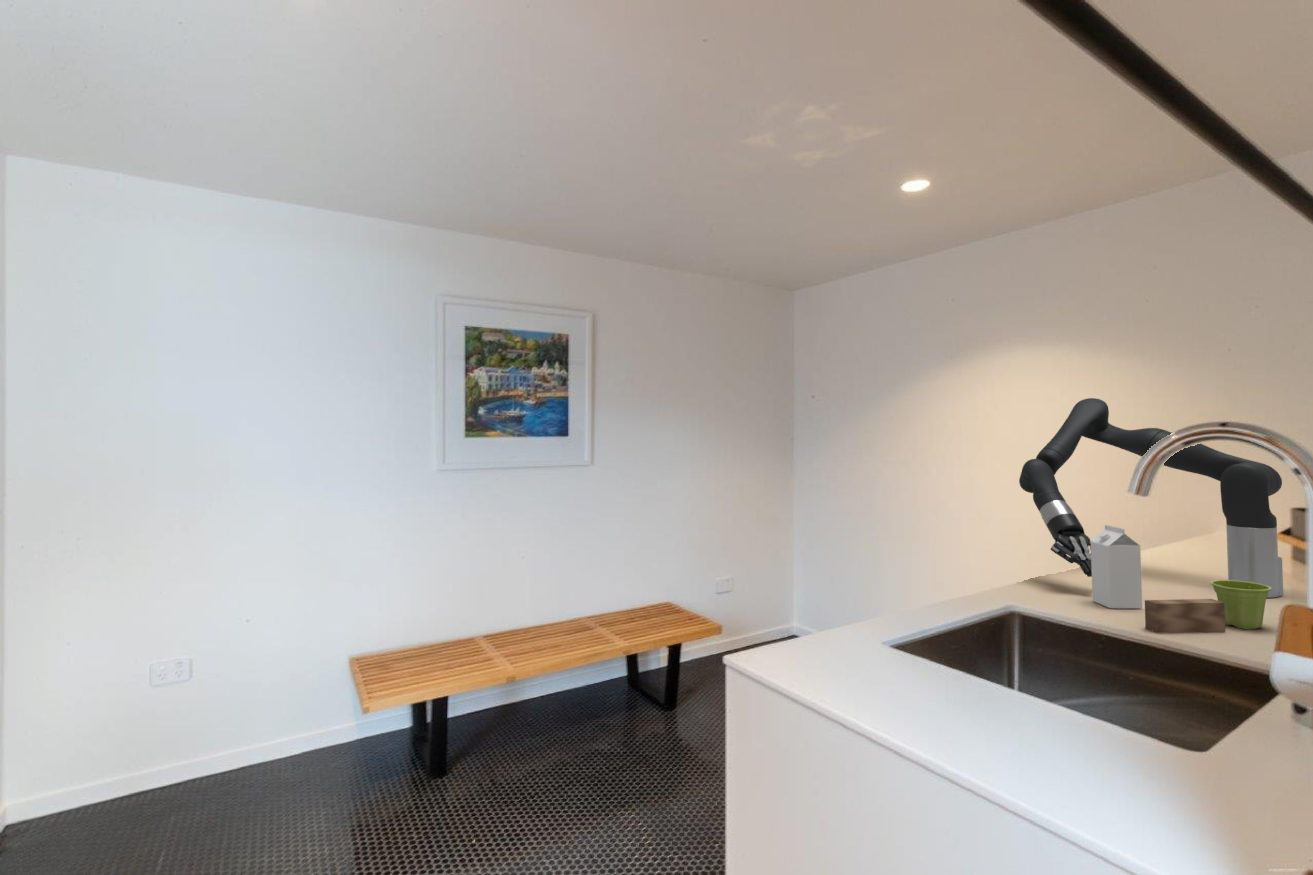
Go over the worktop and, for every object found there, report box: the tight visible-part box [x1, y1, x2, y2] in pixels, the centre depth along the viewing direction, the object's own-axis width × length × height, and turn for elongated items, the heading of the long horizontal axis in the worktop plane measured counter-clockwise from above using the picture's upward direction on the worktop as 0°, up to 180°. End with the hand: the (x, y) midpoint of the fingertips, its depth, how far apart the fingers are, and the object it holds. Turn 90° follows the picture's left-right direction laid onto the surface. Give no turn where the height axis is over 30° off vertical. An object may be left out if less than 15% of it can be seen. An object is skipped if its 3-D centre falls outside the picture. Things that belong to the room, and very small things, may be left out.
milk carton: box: [1090, 524, 1143, 609], centre depth 148 cm, size 7×7×19 cm
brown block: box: [1144, 598, 1226, 633], centre depth 128 cm, size 14×3×6 cm, turn 89°
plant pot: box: [1210, 579, 1271, 630], centre depth 130 cm, size 9×9×9 cm
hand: (1092, 574), depth 156 cm, fingers closed
